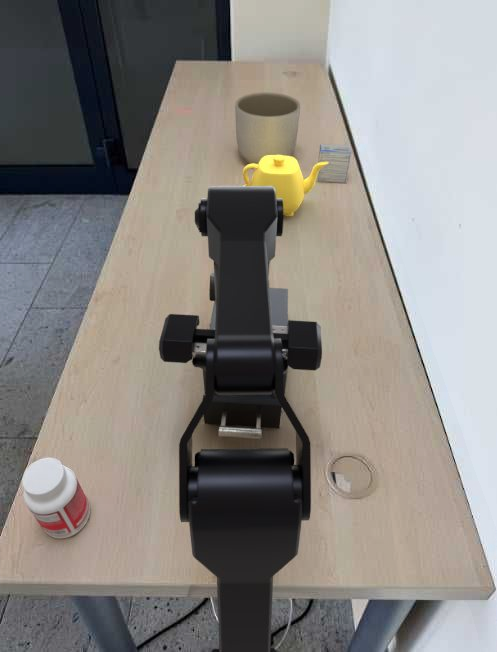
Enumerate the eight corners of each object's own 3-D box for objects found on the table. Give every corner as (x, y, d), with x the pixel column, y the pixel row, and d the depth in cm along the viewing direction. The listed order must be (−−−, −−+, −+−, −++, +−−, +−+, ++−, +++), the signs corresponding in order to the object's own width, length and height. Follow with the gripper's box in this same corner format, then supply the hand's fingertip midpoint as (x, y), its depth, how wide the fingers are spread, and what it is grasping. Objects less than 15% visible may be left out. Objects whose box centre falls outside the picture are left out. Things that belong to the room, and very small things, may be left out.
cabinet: (283, 404, 77) (287, 374, 72) (205, 399, 78) (202, 369, 72) (285, 319, 91) (287, 288, 86) (218, 315, 92) (217, 284, 86)
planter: (229, 169, 133) (228, 112, 122) (243, 143, 145) (243, 89, 134) (290, 176, 130) (294, 119, 120) (299, 149, 142) (304, 95, 131)
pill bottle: (81, 486, 67) (60, 442, 59) (98, 522, 63) (78, 481, 56) (36, 510, 64) (8, 468, 57) (51, 550, 61) (23, 511, 53)
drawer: (279, 453, 70) (281, 430, 66) (200, 448, 70) (198, 425, 66) (281, 340, 86) (283, 316, 82) (217, 336, 86) (216, 312, 82)
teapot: (243, 190, 125) (244, 142, 116) (321, 194, 124) (328, 146, 115) (238, 219, 115) (239, 169, 106) (323, 223, 114) (330, 173, 105)
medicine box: (345, 175, 131) (350, 144, 125) (346, 184, 128) (351, 152, 122) (316, 174, 132) (320, 143, 126) (316, 182, 128) (320, 150, 122)
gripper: (324, 254, 58) (311, 343, 69) (169, 247, 59) (180, 336, 70) (329, 319, 50) (313, 408, 61) (150, 309, 51) (166, 399, 62)
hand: (241, 384), depth 63 cm, fingers open, 4 cm apart
